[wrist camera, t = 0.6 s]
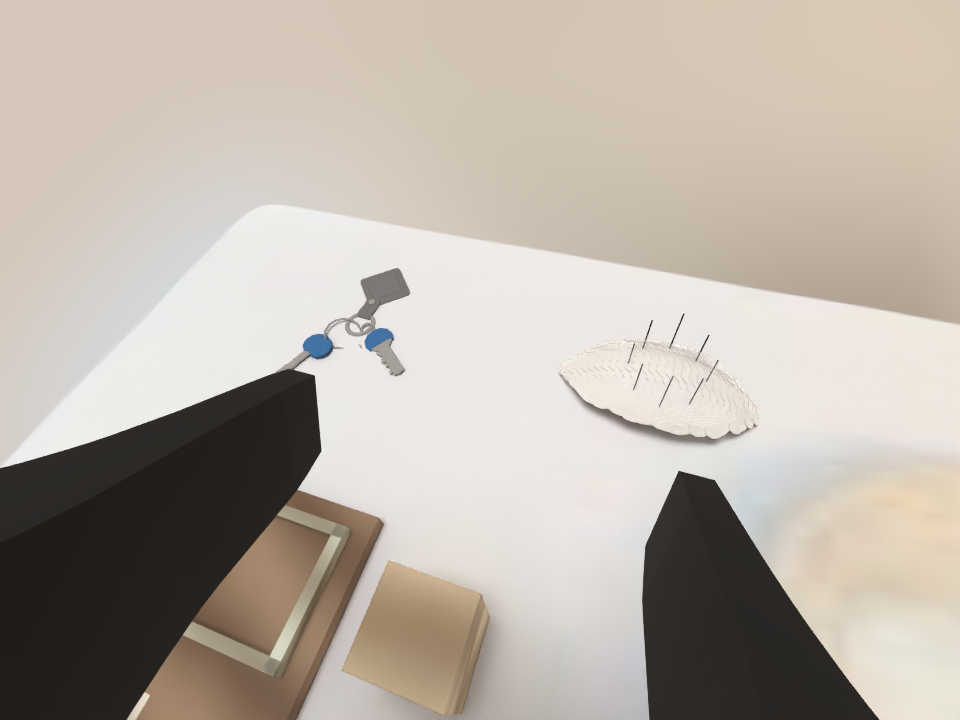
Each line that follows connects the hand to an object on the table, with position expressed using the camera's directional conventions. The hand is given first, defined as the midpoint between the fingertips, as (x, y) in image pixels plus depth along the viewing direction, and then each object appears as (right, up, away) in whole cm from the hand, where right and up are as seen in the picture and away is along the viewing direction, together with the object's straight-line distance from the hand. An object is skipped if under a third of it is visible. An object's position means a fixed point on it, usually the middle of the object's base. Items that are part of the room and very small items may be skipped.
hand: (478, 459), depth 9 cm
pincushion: (+11, -1, +21) cm, 24 cm away
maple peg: (-2, -12, +13) cm, 18 cm away
